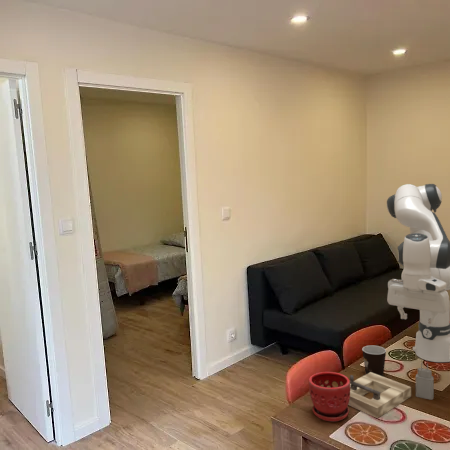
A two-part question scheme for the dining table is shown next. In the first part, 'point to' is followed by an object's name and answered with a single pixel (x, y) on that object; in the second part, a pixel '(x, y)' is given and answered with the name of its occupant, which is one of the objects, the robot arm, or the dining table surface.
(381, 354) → the coffee mug
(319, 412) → the plant pot
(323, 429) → the dining table surface
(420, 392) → the power adapter
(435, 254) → the robot arm
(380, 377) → the tidy board
